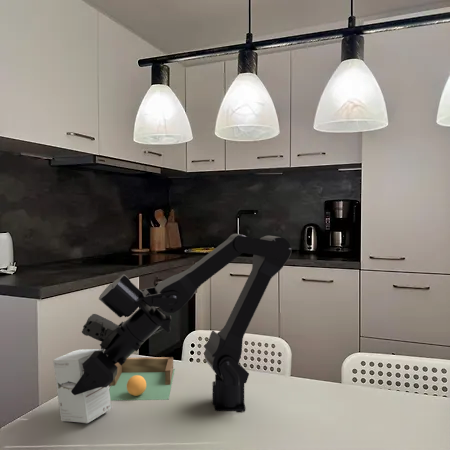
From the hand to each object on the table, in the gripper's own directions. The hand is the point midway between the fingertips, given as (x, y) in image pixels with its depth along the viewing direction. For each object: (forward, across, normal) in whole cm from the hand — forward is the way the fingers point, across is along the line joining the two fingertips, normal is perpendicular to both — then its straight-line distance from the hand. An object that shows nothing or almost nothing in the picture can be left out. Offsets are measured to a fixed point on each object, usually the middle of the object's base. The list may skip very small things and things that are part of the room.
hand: (80, 383), depth 87 cm
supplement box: (+4, 0, +6) cm, 7 cm away
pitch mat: (-2, -16, +12) cm, 20 cm away
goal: (-2, -20, +12) cm, 23 cm away
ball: (-2, -10, +12) cm, 15 cm away
